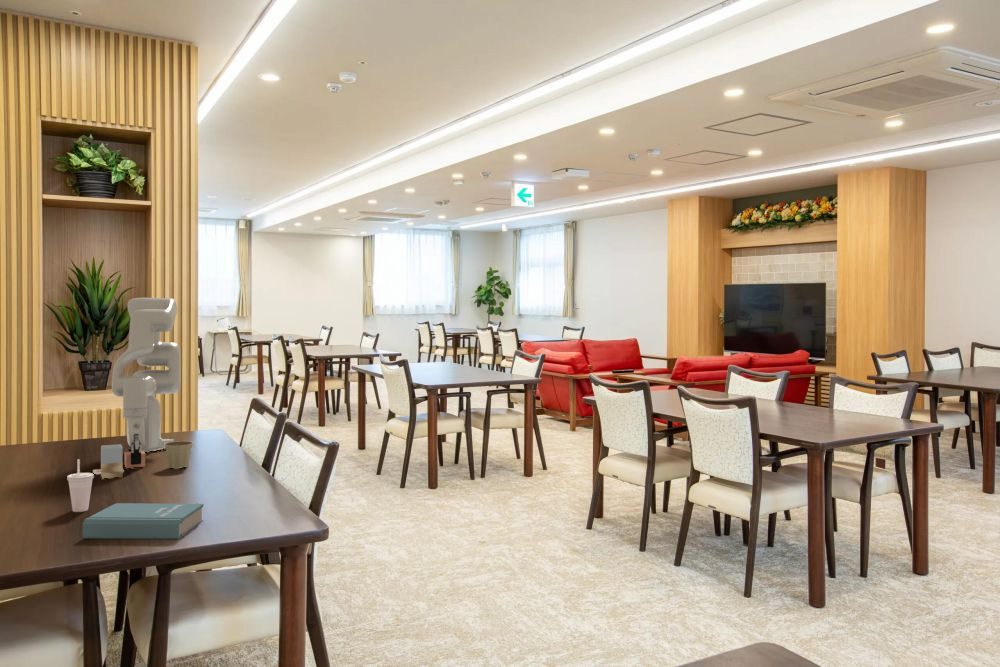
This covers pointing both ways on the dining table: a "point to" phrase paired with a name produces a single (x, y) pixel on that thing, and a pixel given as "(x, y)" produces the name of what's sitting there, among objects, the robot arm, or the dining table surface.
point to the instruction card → (98, 471)
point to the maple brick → (112, 470)
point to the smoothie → (80, 489)
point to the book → (143, 521)
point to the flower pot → (178, 453)
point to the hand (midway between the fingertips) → (134, 461)
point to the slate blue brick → (111, 453)
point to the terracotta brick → (128, 460)
